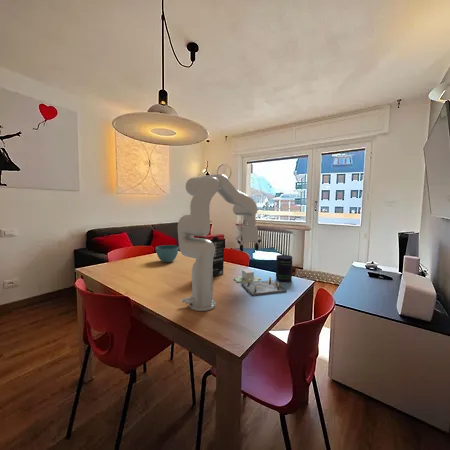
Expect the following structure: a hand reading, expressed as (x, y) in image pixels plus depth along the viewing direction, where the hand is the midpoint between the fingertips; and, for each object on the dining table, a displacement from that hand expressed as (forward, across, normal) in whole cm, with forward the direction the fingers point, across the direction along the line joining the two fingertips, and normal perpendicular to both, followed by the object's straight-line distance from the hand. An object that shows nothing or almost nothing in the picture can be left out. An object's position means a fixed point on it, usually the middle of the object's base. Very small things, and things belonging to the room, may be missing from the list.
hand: (249, 250), depth 141 cm
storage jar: (+19, +22, -5) cm, 29 cm away
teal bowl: (+19, -49, +59) cm, 78 cm away
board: (+19, 0, 0) cm, 19 cm away
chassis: (+19, +3, -16) cm, 24 cm away
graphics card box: (+19, -21, +14) cm, 31 cm away
